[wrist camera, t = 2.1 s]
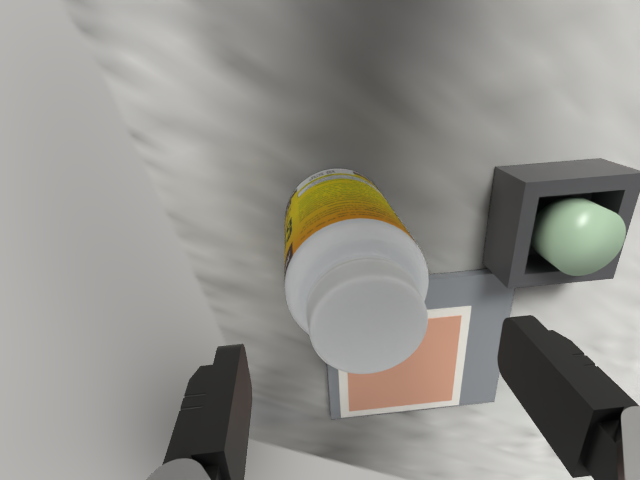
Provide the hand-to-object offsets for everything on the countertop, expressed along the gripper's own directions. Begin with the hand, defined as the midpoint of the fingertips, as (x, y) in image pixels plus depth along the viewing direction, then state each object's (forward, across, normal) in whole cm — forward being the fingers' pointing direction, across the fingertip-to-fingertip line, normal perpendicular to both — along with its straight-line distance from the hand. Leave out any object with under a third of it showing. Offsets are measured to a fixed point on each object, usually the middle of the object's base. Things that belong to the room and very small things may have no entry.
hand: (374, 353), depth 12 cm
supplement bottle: (+11, 0, 0) cm, 11 cm away
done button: (+9, -12, +1) cm, 15 cm away
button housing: (+11, -12, 0) cm, 16 cm away
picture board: (+11, -5, +10) cm, 16 cm away
